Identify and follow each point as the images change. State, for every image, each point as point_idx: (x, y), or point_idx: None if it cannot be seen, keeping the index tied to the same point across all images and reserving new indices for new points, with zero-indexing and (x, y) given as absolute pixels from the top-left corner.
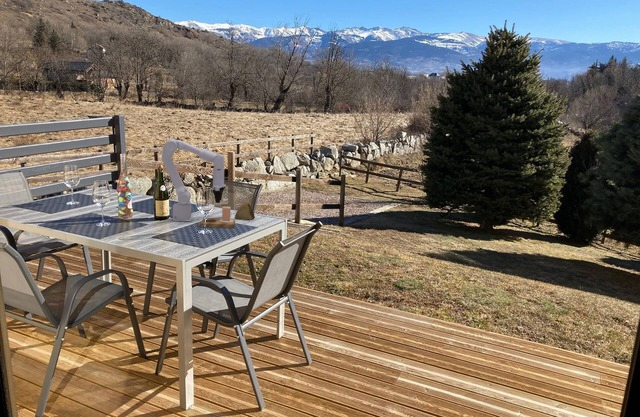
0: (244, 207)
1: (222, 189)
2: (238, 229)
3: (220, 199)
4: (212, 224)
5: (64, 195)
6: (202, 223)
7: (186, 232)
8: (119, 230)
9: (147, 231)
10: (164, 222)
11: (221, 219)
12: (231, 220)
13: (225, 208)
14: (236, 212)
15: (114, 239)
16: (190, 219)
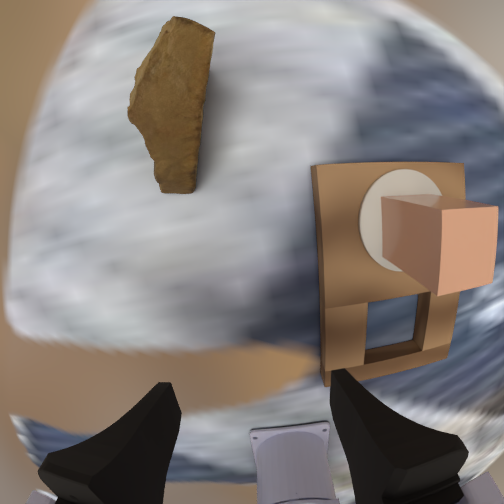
0: (206, 76)
1: (117, 478)
2: (464, 132)
3: (344, 389)
4: (457, 295)
5: None
6: (447, 348)
7: (491, 362)
8: None
9: None
10: (344, 475)
11: (390, 265)
12: (409, 184)
13: (494, 251)
14: (171, 180)
15: (488, 457)
16: (304, 430)
